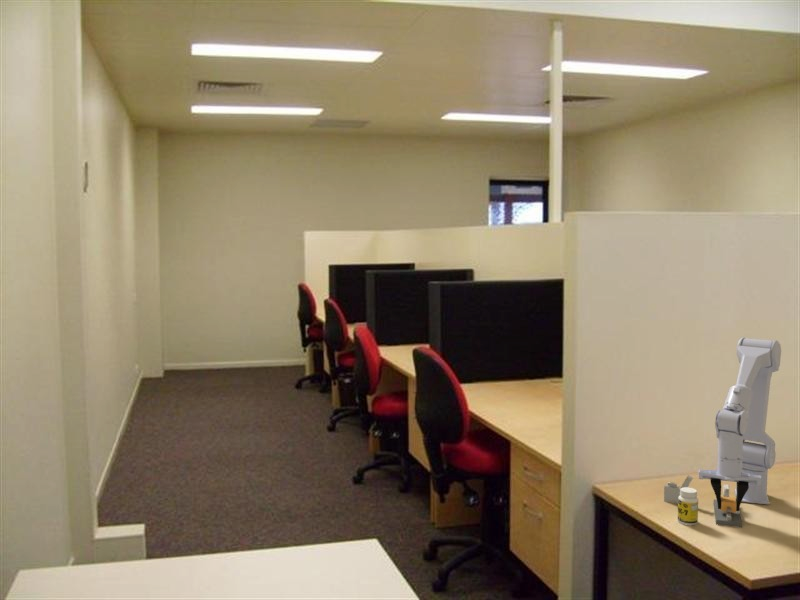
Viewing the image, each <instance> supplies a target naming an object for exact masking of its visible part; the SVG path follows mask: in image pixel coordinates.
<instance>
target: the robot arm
mask: <svg viewBox="0 0 800 600" xmlns="http://www.w3.org/2000/svg"><path fill="white" fill-rule="evenodd" d="M736 356H737V359H738V363H739V364H740V365H739V369H738V373H737V379H736V382H735V385H732V386H730V387H729V390H728V393H727V396H726V397H725V401H724V404H723V407H722V409H721V410H718V411H717V412H716V416H715V421H714V427H715V428H714V429H715V430H716V438H717V441H718V442H717V466H716V467H717V469H698V476H697V477H698V479H699V480H710V485H711V487H712V490H713V492H714V495H715V498H716V500H717V502H718V509H721V497H722V481H725V482H732V483H733V482H734V483H736V488H734V493H735V498H736V503H737V505H736V511H739V509H740V507H741V504H742V503H752V504H760V505H761V504H762V505H770V504H771V503H770V500H769V496H768V473H769V471H768V470H770V469H771V468H773V467H774V465H775V461H776V456H777V455H776V442H775V440H774V439H773V438H772V437H771V436H770V435H769V434H768V433H766V427H767V426H766V425H767V416H768V407H769V406H768V405H769V396H770V388H771V387H770V386H771V380H772V375H773V373H775V372H777V371H779V370H780V369H779V368H780V365H781V357H782V348H781V344H780V342H779V341H778V340H777V339H775V340H769V339H759V338H747V337H741V338H740V339H738V341H737V345H736Z"/></svg>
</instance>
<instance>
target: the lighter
mask: <svg viewBox="0 0 800 600" xmlns="http://www.w3.org/2000/svg"><path fill="white" fill-rule="evenodd" d="M693 479H694V477H693V476H691V475H690V474H688V475H687V476H686V478H685V479H684V481H683V482H682V484H681V486H678V483H677V482H672V481H669V482H667V483H666V484H665V485H664V486H663V488H664V489H663V502H666V503H671V504H677V505H678V497H679V496H680V489H681V488H683V487H689V486H690V484H691V482H692V480H693Z"/></svg>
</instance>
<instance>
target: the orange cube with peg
mask: <svg viewBox="0 0 800 600" xmlns="http://www.w3.org/2000/svg"><path fill="white" fill-rule="evenodd" d="M736 505H737V503H736V497H730V496H729V497H723V496H721V511H726V512H735V513H736Z"/></svg>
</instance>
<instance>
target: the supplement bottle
mask: <svg viewBox="0 0 800 600" xmlns="http://www.w3.org/2000/svg"><path fill="white" fill-rule="evenodd" d="M698 518H699V498H698V490H697V489H696V488H693V487H689V486H688V487H683V488H681V489H680V496H679V497H678V504H677V522H678V523H680V524H682V523H683V524H682V525H685V524H687V525H686V526H695V525H697V524H698V521H699V520H698Z"/></svg>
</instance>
